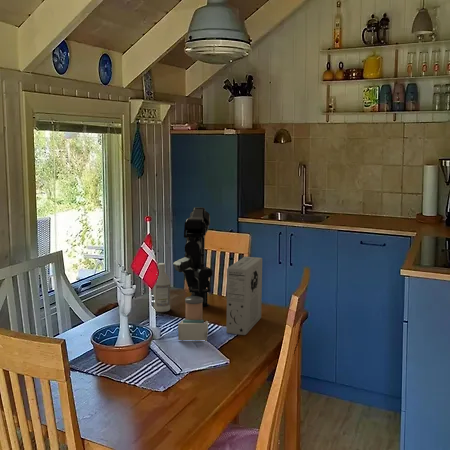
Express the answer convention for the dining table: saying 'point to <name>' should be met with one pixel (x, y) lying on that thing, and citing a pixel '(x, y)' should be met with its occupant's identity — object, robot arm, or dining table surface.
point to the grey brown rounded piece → (193, 308)
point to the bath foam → (162, 290)
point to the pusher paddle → (193, 321)
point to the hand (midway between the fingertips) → (194, 289)
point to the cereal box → (244, 295)
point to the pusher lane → (192, 331)
